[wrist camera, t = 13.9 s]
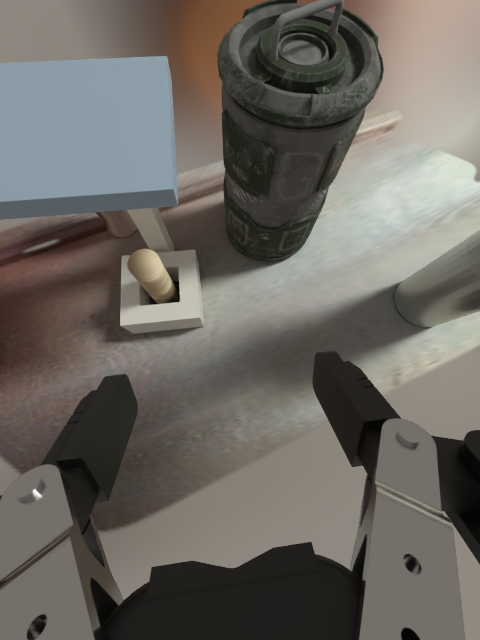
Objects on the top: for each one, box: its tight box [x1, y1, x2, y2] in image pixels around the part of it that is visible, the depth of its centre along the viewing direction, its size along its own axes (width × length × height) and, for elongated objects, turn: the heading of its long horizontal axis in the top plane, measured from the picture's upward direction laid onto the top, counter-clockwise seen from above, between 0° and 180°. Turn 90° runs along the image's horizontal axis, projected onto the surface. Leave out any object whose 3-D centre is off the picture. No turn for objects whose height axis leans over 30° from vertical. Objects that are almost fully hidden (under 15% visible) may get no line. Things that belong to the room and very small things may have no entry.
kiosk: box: [0, 56, 204, 334], centre depth 30 cm, size 14×16×26 cm
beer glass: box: [95, 210, 137, 237], centre depth 39 cm, size 7×7×15 cm
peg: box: [127, 249, 180, 304], centre depth 36 cm, size 4×4×12 cm
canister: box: [218, 0, 384, 261], centre depth 33 cm, size 16×16×28 cm
